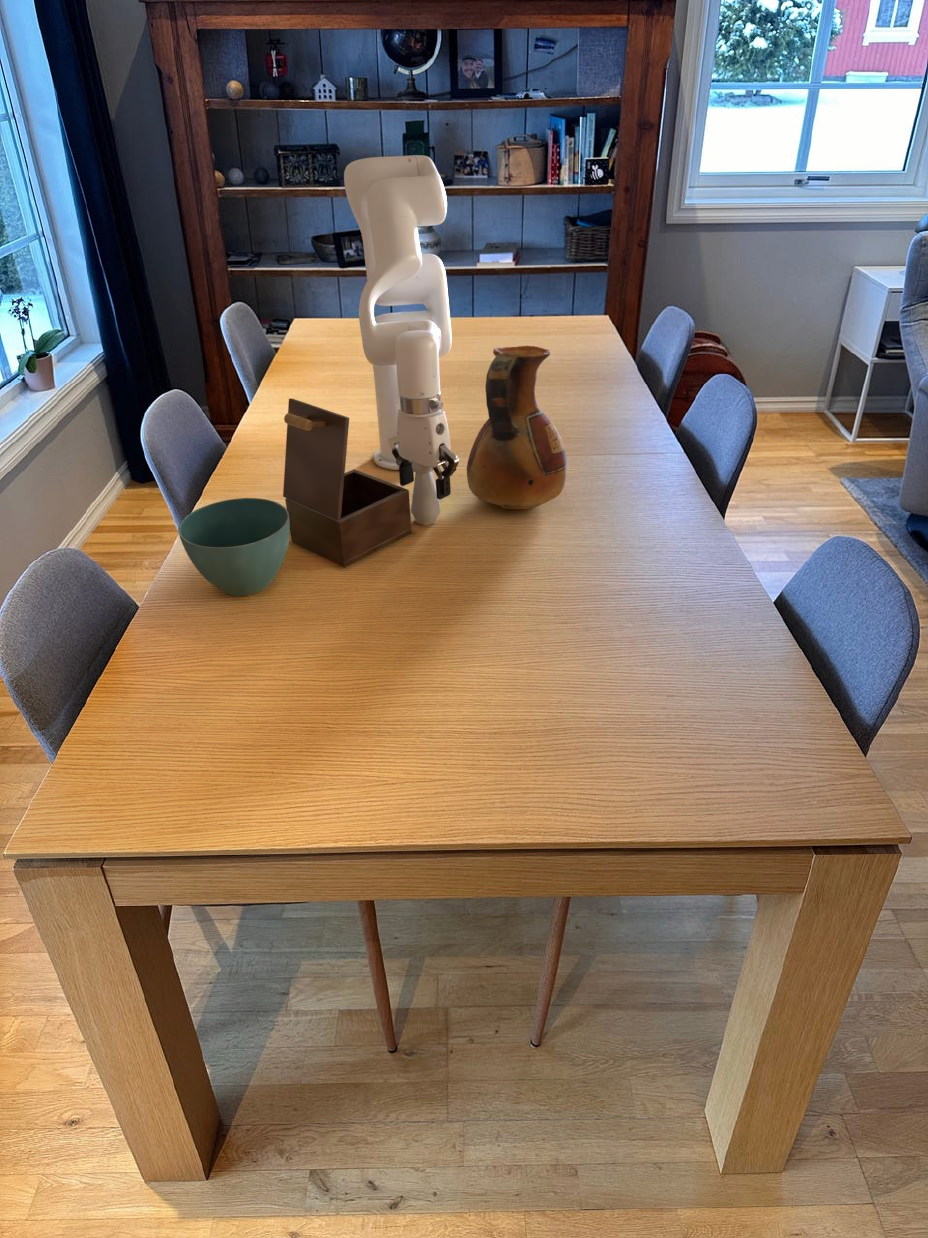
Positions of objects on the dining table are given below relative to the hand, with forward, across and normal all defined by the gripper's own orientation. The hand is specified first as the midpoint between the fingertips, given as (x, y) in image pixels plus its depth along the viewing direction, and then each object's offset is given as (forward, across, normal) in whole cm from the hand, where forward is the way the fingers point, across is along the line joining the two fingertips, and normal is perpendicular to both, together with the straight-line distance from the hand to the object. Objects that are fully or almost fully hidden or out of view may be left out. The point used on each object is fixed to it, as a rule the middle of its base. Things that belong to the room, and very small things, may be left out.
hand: (425, 490), depth 175 cm
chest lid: (-11, +6, +20) cm, 24 cm away
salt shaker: (+7, 0, 0) cm, 7 cm away
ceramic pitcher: (+7, -7, -19) cm, 21 cm away
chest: (+7, +6, +14) cm, 17 cm away
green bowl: (+7, +8, +37) cm, 39 cm away
